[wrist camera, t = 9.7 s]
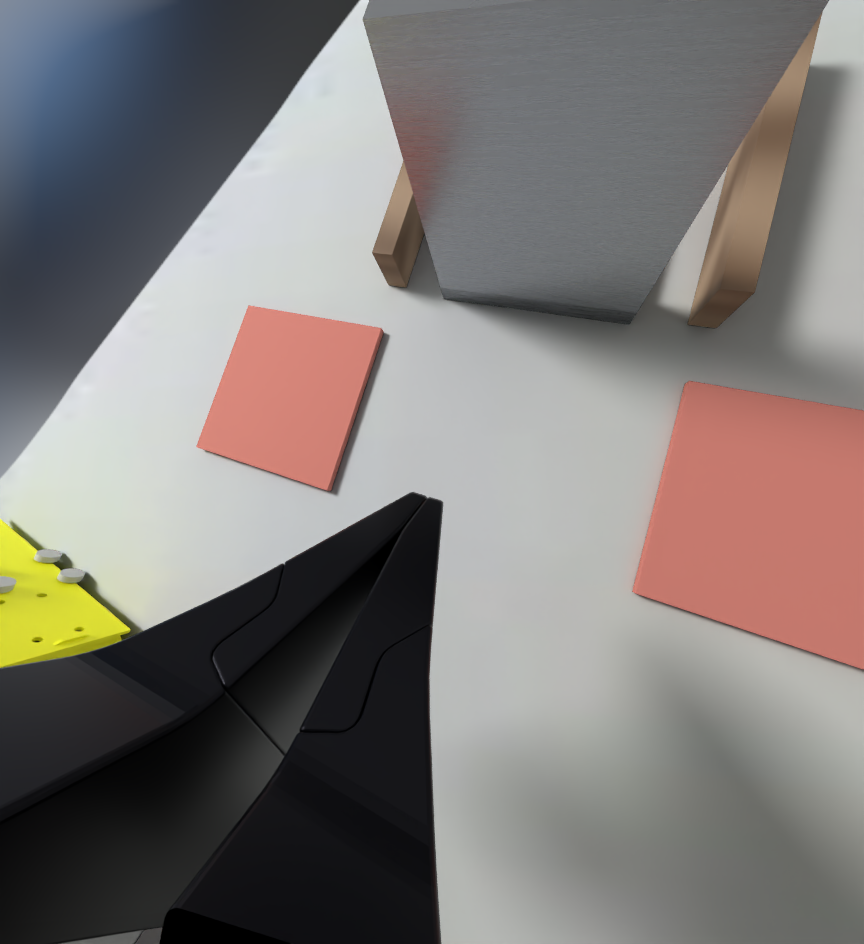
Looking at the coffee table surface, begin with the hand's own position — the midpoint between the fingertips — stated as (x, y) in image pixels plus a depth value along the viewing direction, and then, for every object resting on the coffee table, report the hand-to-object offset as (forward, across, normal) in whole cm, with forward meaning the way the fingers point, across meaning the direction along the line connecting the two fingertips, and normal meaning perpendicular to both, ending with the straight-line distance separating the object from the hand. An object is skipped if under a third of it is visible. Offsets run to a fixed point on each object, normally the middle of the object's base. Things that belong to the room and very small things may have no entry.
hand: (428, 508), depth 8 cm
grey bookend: (+19, 0, -6) cm, 20 cm away
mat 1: (+9, +13, +3) cm, 16 cm away
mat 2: (+9, -13, +3) cm, 16 cm away
